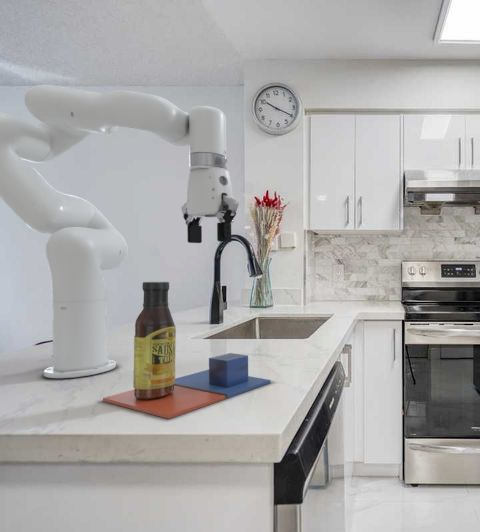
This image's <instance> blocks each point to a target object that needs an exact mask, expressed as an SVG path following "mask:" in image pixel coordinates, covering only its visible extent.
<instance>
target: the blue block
mask: <svg viewBox="0 0 480 532" xmlns="http://www.w3.org/2000/svg"><path fill="white" fill-rule="evenodd" d="M208 370H209V384H211V385H216V386H221V387H227V388H228V387H231V386H234V385H237V384H240V383H243V382H246V381H248V376H249V355H247V354H240V353H233V352H229V353H225V354H221V355H216V356H212V357H208Z"/></svg>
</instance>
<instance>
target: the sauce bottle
mask: <svg viewBox="0 0 480 532" xmlns="http://www.w3.org/2000/svg"><path fill="white" fill-rule="evenodd" d="M169 290H170V281H143V282H142V291H143V302H142V308H143V309H142V310H141V312H140V313H139V315H137V318H136V320H135V323H134V338H133V341H134V342H133V384H132V385H133V389H135V392H134V395H135V397H136V398H137V399H154V398H160V397H164V396H167V395H169V394H171V393H172V392H173V390H174V384H175V378H176V333H177V332H176V331H177V330H176V329H177V328H176V325H175V322H174V319H173V316H172V314H171V310H170V308H169Z"/></svg>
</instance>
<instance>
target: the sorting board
mask: <svg viewBox="0 0 480 532" xmlns="http://www.w3.org/2000/svg"><path fill="white" fill-rule="evenodd" d="M271 381H272V380H271V379H267V378H261V377H257V376H256V377H255V376H249V375H248V381H246V382H243V383H240V384H237V385H234V386H231V387H228V388H227V387H221V386H216V385H211V384H209V369H206V370H205V369H204V370H202V371H198V372H194V373H191V374H187V375H184V376H179V377H175V384H174V390H173V392H172V393H171V394H169V395H167V396H164V397H160V398H154V399H137V398H136V397H135V395H134V392H135V388H133V389H131V390H127V391H123V392H120V393H116V394H111V395H109V396H105V397H102V402H104V403H107V404H111V405H115V406H120V407H123V408H126V409H130V410H133V411H138V412H142V413H146V414H149V415H153V416H157V417H160V418H164V419H167V420H170V419H172V418H176V417H179V416H182V415H184V414H187V413H190V412H193V411H196V410H198V409H201V408H204V407H207V406H209V405H212V404H215V403H218V402H221V401H224V400H227V399H229V398H232V397H235V396H237V395H240V394H243V393H246V392H248V391H251V390H254V389H257V388H260V387H263V386H266V385H268V384H271Z"/></svg>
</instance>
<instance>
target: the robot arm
mask: <svg viewBox="0 0 480 532" xmlns="http://www.w3.org/2000/svg"><path fill="white" fill-rule="evenodd" d="M24 104H25V107H26V109H27V110H28V112H29V113H30V114H31V115H32V116H33V117H34V118H35V119H37V120H38V121H40V122H41V123H39V124H34V123H32V122H29V121H27V120H25V119H23V118H19V117H16V116H15V115H12V114H9V113H6V112H3V111H0V199H2V201H4V203H5V204H6V205H7V206H8V208H10V209H11V211H13V212H14V213H15V215H16V216H17V217H18V218H19V219H20V220H21V221H22V222H23V223H24V224H25V225H26V226H27V227H28V228H29V229H31V230H33V231H34V232H37V233H42V234H47V235H50V236H49V237H48V238H47V241H46V243H45V251H44V252H45V259H46V262H47V266H48V270H49V275H50V282H51V304H52V305H51V306H52V307H51V308H52V309H51V311H52V313H51V315H52V356H51V357H52V366H49V367H47V368H45V369H44V370H43V377H44V378H47V379H73V378H82V377H87V376H93V375H98V374H102V373H106V372H109V371H112V370H114V369H115V368H116V367H117V361H116V360H113V359H109V352H108V351H109V349H108V348H109V347H108V345H109V344H108V343H109V342H108V341H109V340H108V339H109V338H108V295H107V294H108V292H107V291H108V290H107V289H108V288H107V284H106V280H105V278H104V275H103V272H102V271H107V270H108V271H109V270H114V269H117V268H119V267H121V266H122V265H123V264H124V263H125V262H126V261H127V259H128V257H129V245H128V243H127V240H126V239H125V238H124V236H123V235H122V233H120V232H119V230H118V229H117V228H116V227H115V226H114V225H113V224H112V223H111V221H110V220H109V219H108V218H107V217H106V216H105V215H104V214H103V213H102V212H101V211H100V210H99V209H98V208H97V207H96V206H95V205H94V204H93V203H92V202H90V201H88V200H87V199H86V198H82V197H80V196H77V195H72V194H68V193H64V192H61V191H59V190H57V189H56V188H54V187H53V186H52V185H51V184H50V183H49V182H48V181H47V180H46V179H45V178H44V177H43V176H42V175H41V174H40V172H39V171H38V170H37V169H35V168H34V167H33V166H32V165H30V164H29V163H28V162H31V163H36V164H37V163H38V164H43V163H48V162H50V161H53V160H55V159H57V158H58V157H60V156H62V155H63V154H65V153H66V152H68V151H69V150H71V149H73V148H74V147H75V146H77V145H79V144H80V143H82V142H83V141H85V140H87V138H89V137H90V136H91V135H92V134H94V133H96V134H103V135H111V134H114V133H116V132H117V130H118V129H119V127H120V128H121V127H123V128H128V129H136V130H142V131H146V132H149V133H152V134H154V135H156V136H157V137H159V138H161V139H163V140H164V141H165V142H168V143H170V144H172V145H174V146H177V147H185V146H186V147H187V146H188V147H189V149H188V151H189V154H188V155H189V174H188V179H187V180H188V181H187V190H186V202H185V203H184V204H183V205H182V206H181V208H180V209H181V212H182V215H183V216H182V217H183V220H185V225H186V227H187V243H188V244H189V243H190V244H201V243H202V242H203V239H202V238H203V232H202V231H203V229H202V228H203V227H202V225H200V224H201V222H202V220H203V219H204V218H217V220H218V222H217V223H216V233H217V234H216V240H217V242H222V243H231V242H232V224H233V223H234V218H235V217H236V215H237V210H238V208H239V205H240V204H239V201H237V200H235V199H234V195H233V185H232V179H231V174H230V171H229V170H228V169H227V168H228V157H227V155H228V154H227V153H228V152H227V151H228V150H227V117H226V114H225V112H224V111H222V110H221V109H219V108H217V107H216V106H215V107H214V106H210V105H195V106H192V108H191V109H190V110H189V112H187V111H185V110H182V109H181V108H179V107H178V106H177V105H175V104H174V103H173V102H172V101H170V100H168V99H167V98H164V97H162V96H159V95H157V94H156V95H155V94H151V93H146V92H140V91H134V90H127V89H118V90H117V89H116V90H112V91H108V92H98V91H92V90H86V89H81V88H80V89H79V88H73V87H67V86H63V85H62V86H61V85H56V84H55V85H54V84H46V83H45V84H44V83H43V84H36V85H34V86H32V87H30V88H28V90H27V91H26V92H25V95H24ZM27 161H28V162H27Z"/></svg>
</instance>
